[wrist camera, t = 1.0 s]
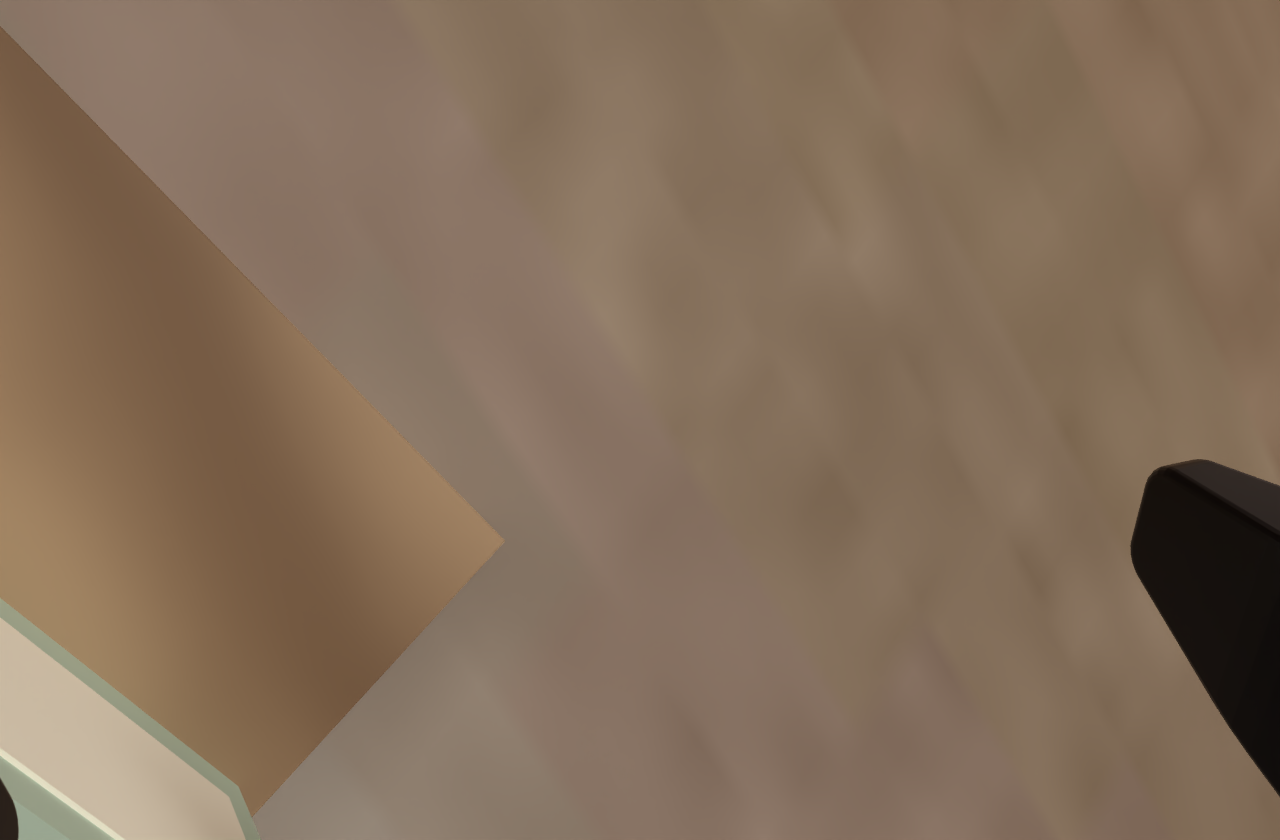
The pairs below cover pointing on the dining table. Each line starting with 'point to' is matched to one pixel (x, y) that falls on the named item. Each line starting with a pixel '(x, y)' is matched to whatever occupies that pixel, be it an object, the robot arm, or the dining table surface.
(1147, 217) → the dining table surface
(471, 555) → the wooden tray
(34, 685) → the tea box
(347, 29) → the dining table surface
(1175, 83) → the dining table surface
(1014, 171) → the dining table surface
